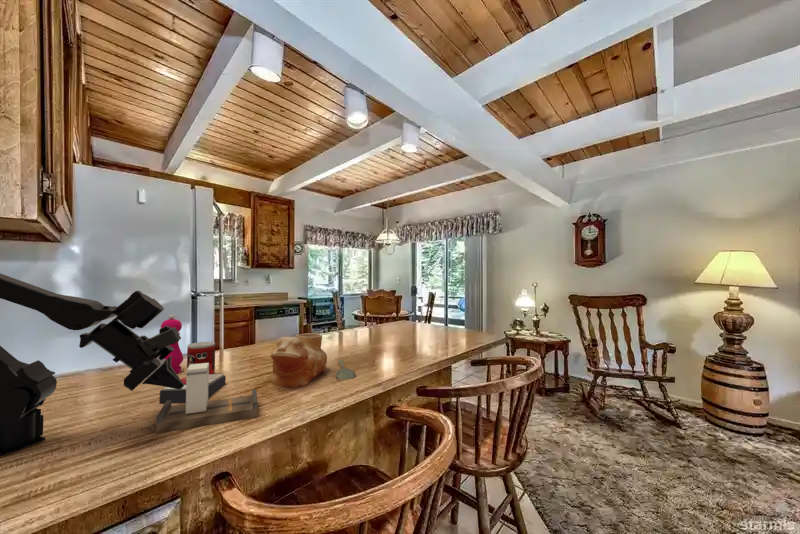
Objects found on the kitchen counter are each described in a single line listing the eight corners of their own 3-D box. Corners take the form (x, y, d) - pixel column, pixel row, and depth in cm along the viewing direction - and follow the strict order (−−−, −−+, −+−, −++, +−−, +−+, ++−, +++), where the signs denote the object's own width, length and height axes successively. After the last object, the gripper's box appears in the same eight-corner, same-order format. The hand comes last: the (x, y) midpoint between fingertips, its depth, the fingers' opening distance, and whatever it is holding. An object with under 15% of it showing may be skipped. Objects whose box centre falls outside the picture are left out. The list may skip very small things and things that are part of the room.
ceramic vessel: (256, 389, 98) (257, 339, 98) (298, 365, 124) (299, 325, 124) (299, 393, 96) (300, 341, 96) (333, 367, 121) (334, 327, 122)
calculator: (226, 372, 103) (203, 386, 88) (225, 386, 103) (202, 403, 88) (188, 373, 102) (159, 388, 87) (188, 388, 102) (158, 404, 87)
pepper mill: (169, 376, 109) (171, 316, 110) (151, 375, 111) (153, 315, 111) (188, 370, 116) (189, 313, 117) (170, 369, 118) (172, 313, 118)
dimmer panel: (156, 433, 71) (156, 416, 71) (166, 415, 80) (166, 400, 80) (257, 416, 79) (257, 402, 80) (256, 402, 88) (256, 388, 89)
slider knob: (185, 414, 75) (186, 370, 75) (188, 405, 80) (189, 364, 80) (206, 411, 77) (206, 368, 77) (208, 403, 82) (209, 362, 82)
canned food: (180, 379, 106) (181, 345, 106) (202, 372, 114) (203, 340, 114) (199, 382, 104) (200, 347, 104) (220, 374, 112) (220, 342, 112)
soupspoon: (335, 384, 107) (356, 383, 108) (336, 373, 107) (356, 373, 108) (332, 363, 128) (349, 363, 130) (332, 354, 128) (349, 354, 130)
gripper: (144, 322, 67) (206, 370, 71) (164, 312, 84) (213, 351, 88) (93, 366, 63) (162, 413, 68) (125, 346, 80) (178, 385, 85)
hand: (182, 387), depth 77 cm, fingers closed
